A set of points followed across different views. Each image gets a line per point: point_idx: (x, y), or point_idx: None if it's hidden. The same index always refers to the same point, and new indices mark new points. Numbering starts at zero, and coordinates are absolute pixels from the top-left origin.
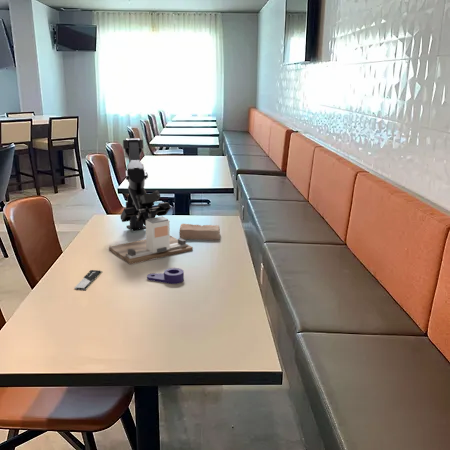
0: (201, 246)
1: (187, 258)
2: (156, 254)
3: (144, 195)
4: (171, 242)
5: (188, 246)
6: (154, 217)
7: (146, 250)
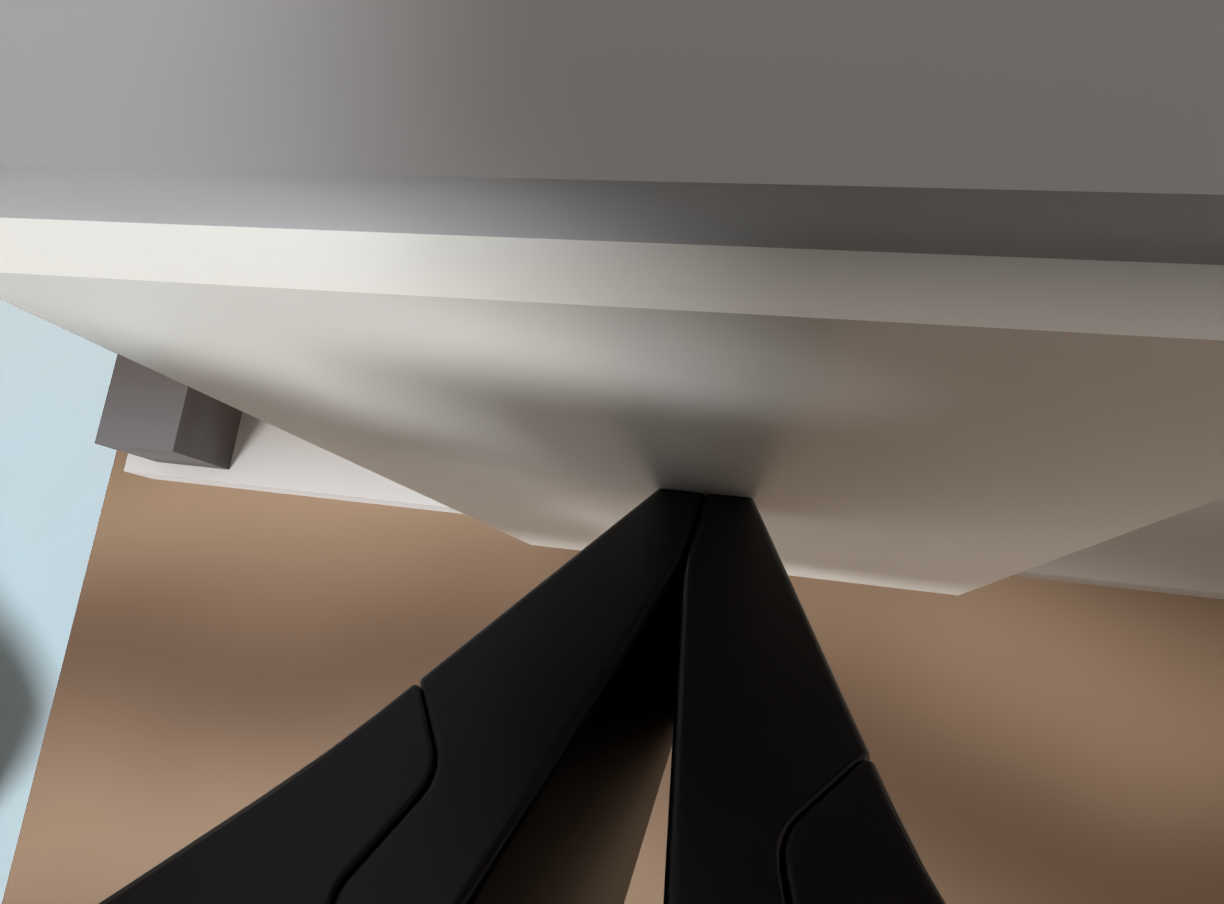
0: (5, 311)
1: None
2: None
3: None
4: (239, 679)
5: None
6: (198, 872)
7: None
